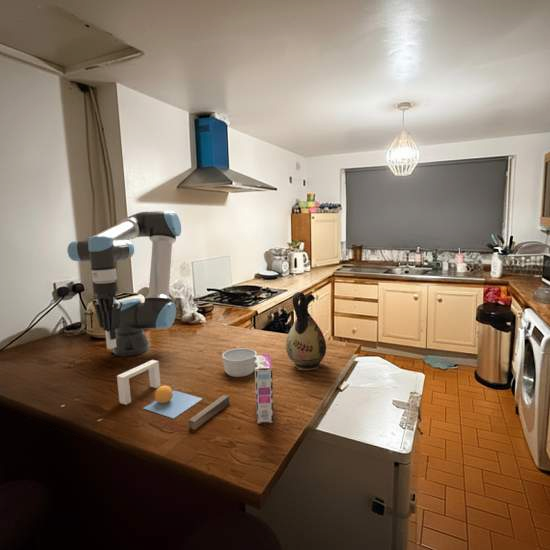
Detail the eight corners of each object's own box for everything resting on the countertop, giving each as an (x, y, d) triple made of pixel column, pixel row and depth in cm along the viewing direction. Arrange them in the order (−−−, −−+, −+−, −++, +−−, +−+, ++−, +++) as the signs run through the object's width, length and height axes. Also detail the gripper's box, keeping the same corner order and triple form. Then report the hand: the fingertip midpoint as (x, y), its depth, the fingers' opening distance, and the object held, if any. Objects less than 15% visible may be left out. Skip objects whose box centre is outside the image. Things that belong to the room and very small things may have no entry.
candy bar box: (274, 423, 101) (272, 368, 98) (256, 424, 100) (254, 369, 98) (271, 403, 112) (269, 353, 109) (255, 404, 111) (253, 354, 109)
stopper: (189, 428, 99) (188, 420, 99) (224, 402, 113) (223, 394, 113) (194, 430, 98) (194, 421, 98) (229, 403, 112) (228, 396, 112)
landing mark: (142, 408, 111) (142, 408, 111) (173, 390, 122) (173, 390, 122) (173, 418, 104) (173, 418, 104) (202, 399, 116) (202, 398, 116)
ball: (164, 396, 109) (160, 410, 111) (178, 389, 114) (173, 402, 116) (153, 385, 112) (149, 399, 113) (167, 379, 116) (163, 392, 118)
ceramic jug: (299, 355, 150) (298, 286, 145) (333, 363, 141) (332, 289, 136) (276, 370, 136) (274, 293, 131) (311, 379, 127) (310, 297, 123)
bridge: (119, 402, 115) (116, 375, 113) (154, 384, 127) (152, 359, 126) (125, 404, 113) (123, 377, 112) (160, 385, 126) (158, 361, 124)
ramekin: (226, 364, 143) (225, 347, 142) (258, 363, 143) (258, 347, 142) (220, 379, 130) (219, 361, 129) (255, 378, 130) (255, 360, 129)
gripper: (82, 282, 121) (90, 348, 124) (107, 284, 114) (114, 354, 118) (102, 278, 127) (109, 341, 131) (127, 280, 121) (133, 347, 125)
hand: (111, 347), depth 124 cm, fingers closed
